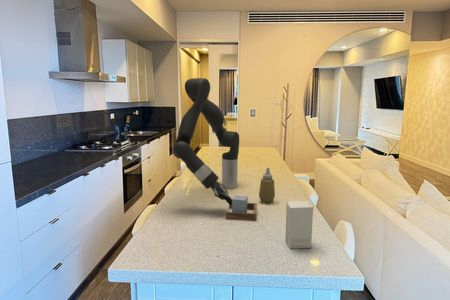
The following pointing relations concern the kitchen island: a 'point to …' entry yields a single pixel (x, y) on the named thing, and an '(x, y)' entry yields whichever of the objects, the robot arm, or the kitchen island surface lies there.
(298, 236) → the skincare box
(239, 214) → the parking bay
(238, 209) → the slate block
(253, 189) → the kitchen island surface
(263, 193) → the squeeze bottle
